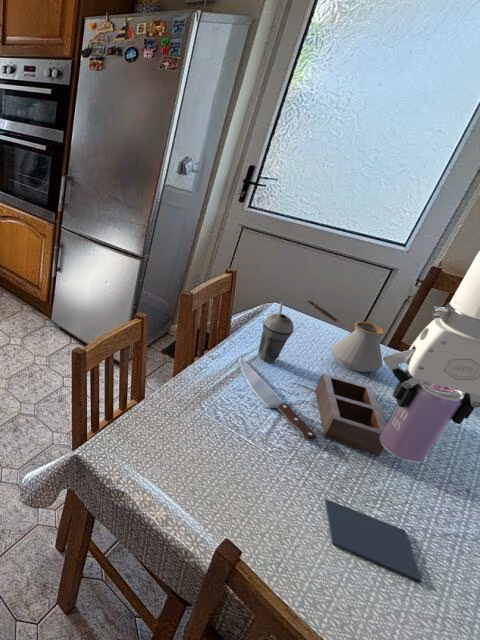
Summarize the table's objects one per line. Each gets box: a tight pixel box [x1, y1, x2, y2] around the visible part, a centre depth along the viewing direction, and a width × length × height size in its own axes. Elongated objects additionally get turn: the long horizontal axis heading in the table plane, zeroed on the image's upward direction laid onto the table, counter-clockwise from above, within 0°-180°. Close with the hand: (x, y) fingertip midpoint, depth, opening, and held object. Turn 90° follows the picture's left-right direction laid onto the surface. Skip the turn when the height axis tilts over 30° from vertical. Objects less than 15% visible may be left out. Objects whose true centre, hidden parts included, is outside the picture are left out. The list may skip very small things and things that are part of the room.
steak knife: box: [238, 356, 317, 442], centre depth 111 cm, size 5×31×2 cm, turn 179°
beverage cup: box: [257, 301, 295, 364], centre depth 121 cm, size 7×7×20 cm
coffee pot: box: [303, 300, 386, 373], centre depth 123 cm, size 21×12×15 cm, turn 38°
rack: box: [314, 372, 387, 456], centre depth 102 cm, size 18×10×6 cm, turn 148°
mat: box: [324, 498, 422, 583], centre depth 78 cm, size 12×10×1 cm
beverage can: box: [380, 381, 465, 463], centre depth 72 cm, size 6×6×15 cm
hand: (426, 409), depth 71 cm, fingers closed on beverage can, 6 cm apart
